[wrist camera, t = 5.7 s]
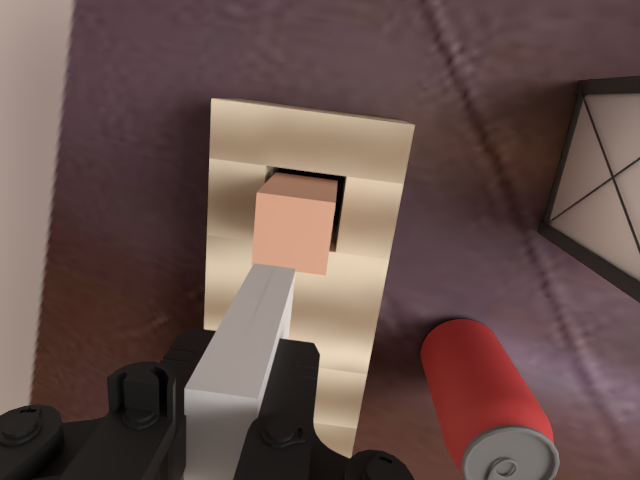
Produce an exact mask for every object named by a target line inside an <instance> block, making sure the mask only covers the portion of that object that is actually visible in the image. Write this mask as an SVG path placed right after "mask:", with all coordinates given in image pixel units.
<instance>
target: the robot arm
mask: <svg viewBox="0 0 640 480" xmlns="http://www.w3.org/2000/svg"><path fill="white" fill-rule="evenodd" d="M295 273H296V269H294V268H286V267H279V266H271V265H264V264H256V263H254V264H253V266H252V267H251V269H250V271H249V273H248V275H247V276H246V278H245V280H244V282H243V284H242V285H241V287H240V289H239V291H238V293H237V295H236V296H235V298H234V300H233V302H232V304H231V305H230V307H229V309H228V311H227V313H226V314H225V316H224V318H223V320H222V322H221V323H220V325H219V327H218V329H217V331H214V330H206V329H199V328H191V329H189V330H188V331H186V332H185V333H183V334H181V335H180V336H178V338H177V339H176V340H175V342H174V343H173V345H172V346H171V348H170V351H168V352H167V353H166V355H165V356H164V358H163V360H161V362H160V363H156V362H139V363H134V364H129V365H127V366H125V367H122V368H120V369H118V370H116V371H115V372H114V373H112V374H111V375H110V376H109V377H108V378H107V385H108V399H109V412H108V414H107V415H106V416H105V417H103V418H98V419H93V420H86V421H77V422H68V423H62V419H61V416H60V412H59V411H57V410H56V409H54V408H53V407H51V406H45V405H30V406H23V407H20V408H17V409H14V410H10V411H8V412H6V413H4V414H2V415H0V480H180V479H181V477H182V474H183V472H184V480H414V478H413V476H412V474H411V473H410V471H409V470H408V468H407V467H406V465H405V464H403V463H402V462H401V461H400V460H399V459H397V458H396V457H395V456H393V455H391V454H388V453H386V452H384V451H378V450H365V451H361V452H358V453H356V454H355V455H354V456H353V457H351V458H348V457H345V456H343V455H341V454H339V453H337V452H335V451H333V450H331V449H330V448H328V447H327V446H326V445H325V444H324V443H322V442H321V440H320V439H319V437H318V436H317V434H316V432H315V429H314V421H313V419H314V410H315V400H316V390H317V380H318V370H319V361H320V353H319V352H318V350H317V348H316V346H315V344H314V343H311V342H304V341H297V340H289V339H288V337H289V330H290V320H291V311H292V302H293V292H294V283H295Z"/></svg>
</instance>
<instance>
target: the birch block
mask: <svg viewBox="0 0 640 480" xmlns="http://www.w3.org/2000/svg"><path fill="white" fill-rule="evenodd" d="M414 128H415V125H414V124H411V123H408V122H406V121H403V120H397V119H390V118H382V117H374V116H367V115H359V114H351V113H344V112H336V111H328V110H321V109H313V108H305V107H298V106H290V105H282V104H275V103H267V102H259V101H251V100H244V99H221V98H211V124H210V155H209V186H208V216H207V247H206V278H205V308H204V329H206V330H214V331H217V329H218V327H219V325H220V323H221V322H222V320H223V318H224V316H225V314H226V313H227V311H228V309H229V307H230V305H231V304H232V302H233V300H234V298H235V296H236V295H237V293H238V291H239V289H240V287H241V285H242V284H243V282H244V280H245V278H246V276H247V275H248V273H249V271H250V269H251V267H252V265H251V264H252V250H253V237H254V223H255V209H256V195H257V192H258V190H259V189H260V188H261V187H262V186H263V185H264V184H265V183H266V182H267V181H268V180H269V179H270V178H271V177H272V176H273V175H274V174H275V172H278V173H279V168H286V169H294V170H301V171H309V172H316V173H324V174H332V175H339V176H344V183H343V190H342V197H341V204H340V211H339V218H338V225H333V227H332V234H331V241H330V249H329V256H328V263H327V270H326V276H325V275H318V274H311V273H303V272H296V273H295V283H294V292H293V302H292V311H291V320H290V330H289V337H288V339H289V340H297V341H304V342H311V343H314V344H315V346H316V348H317V350H318V352H319V353H320V361H319V370H318V380H317V390H316V400H315V410H314V419H313V421H314V429H315V432H316V434H317V436H318V437H319V439H320V440H321V442H322V443H324V444H325V445H326V446H327V447H328V448H330V449H331V450H333V451H335V452H337V453H339V454H341V455H343V456H345V457H348V458H351V456H352V450H353V445H354V440H355V435H356V430H357V424H358V419H359V414H360V409H361V404H362V398H363V393H364V388H365V383H366V378H367V372H368V367H369V362H370V357H371V352H372V346H373V341H374V336H375V331H376V326H377V320H378V315H379V310H380V305H381V300H382V294H383V289H384V284H385V279H386V274H387V268H388V263H389V258H390V253H391V248H392V242H393V237H394V232H395V227H396V221H397V216H398V211H399V206H400V201H401V195H402V190H403V185H404V180H405V175H406V169H407V164H408V159H409V154H410V149H411V143H412V138H413V133H414Z"/></svg>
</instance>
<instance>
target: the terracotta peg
mask: <svg viewBox="0 0 640 480" xmlns="http://www.w3.org/2000/svg"><path fill="white" fill-rule="evenodd" d="M337 184H338V180H331V179H323V178H316V177H308V176H301V175H293V174H286V173H278V172H275V174H274V175H273V176H272V177H271V178H270V179H269V180H268V181H267V182H266V183H265V184H264V185H263V186H262V187H261V188H260V189H259V190H258V192H257V195H256V209H255V223H254V237H253V250H252V264H251V265H252V266H253V264H254V263H256V264H264V265H271V266H279V267H286V268H294V269H296V272H303V273H311V274H318V275H325V276H326V270H327V263H328V256H329V249H330V241H331V234H332V227H333V220H334V213H335V205H336V195H337Z"/></svg>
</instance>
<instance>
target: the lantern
mask: <svg viewBox="0 0 640 480" xmlns="http://www.w3.org/2000/svg"><path fill="white" fill-rule="evenodd" d="M575 94H578V96H577V99H576V103H575V107H574V110H573V114H572V117H571V121H570V125H569V128H568V132H567V136H566V139H565V143H564V147H563V150H562V154H561V157H560V161H559V165H558V168H557V172H556V176H555V179H554V183H553V186H552V190H551V194H550V197H549V201H548V205H547V208H546V212H545V216H544V219H543V221H540V225H539V229H538V233H539V234H541V235H542V236H544V237H545V238H547V239H548V240H549V241H551V242H552V243H554V244H555V245H557V246H558V247H560V248H561V249H562V250H564V251H565V252H567V253H568V254H570V255H571V256H573V257H574V258H576V259H577V260H578V261H580V262H581V263H583V264H584V265H586V266H587V267H589V268H590V269H591V270H593V271H594V272H596V273H597V274H599V275H600V276H602V277H603V278H604V279H606V280H607V281H609V282H610V283H612V284H613V285H615V286H616V287H617V288H619V289H620V290H622V291H623V292H625V293H626V294H628V295H629V296H630V297H632V298H633V299H635V300H636V301H638V302H639V303H640V76H631V77H618V78H606V79H589V80H580V81H579V82H578V86H577V90H576V93H575Z"/></svg>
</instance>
